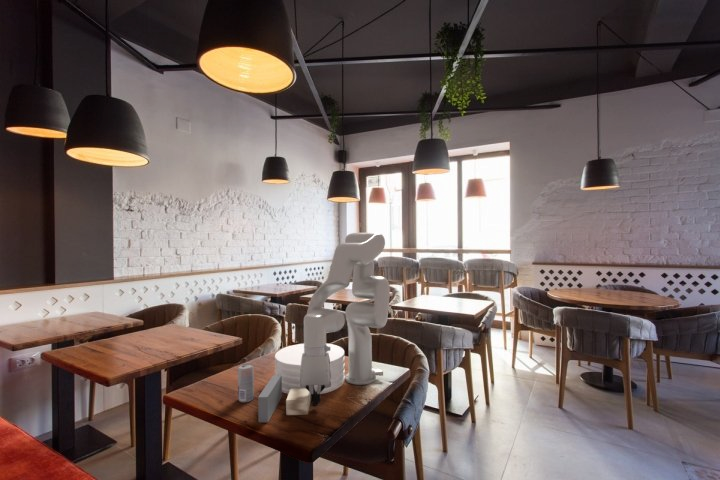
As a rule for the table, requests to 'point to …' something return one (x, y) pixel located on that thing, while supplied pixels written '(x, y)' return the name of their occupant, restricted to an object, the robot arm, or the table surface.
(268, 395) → the gray board
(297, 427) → the table surface
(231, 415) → the table surface
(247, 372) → the energy drink
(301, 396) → the cream block
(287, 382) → the plate stack
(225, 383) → the table surface
